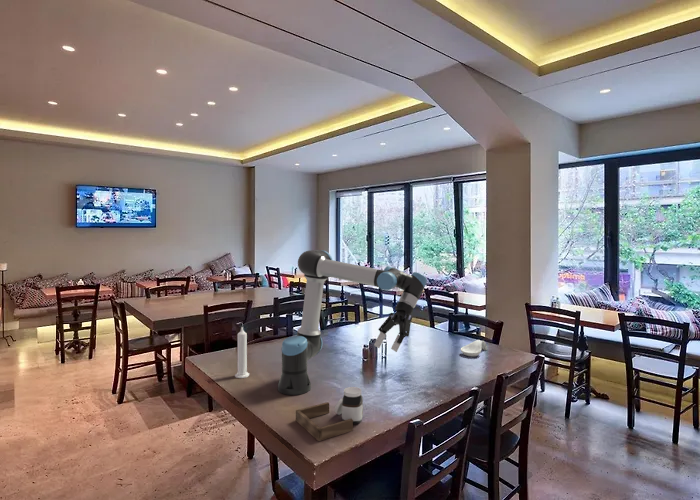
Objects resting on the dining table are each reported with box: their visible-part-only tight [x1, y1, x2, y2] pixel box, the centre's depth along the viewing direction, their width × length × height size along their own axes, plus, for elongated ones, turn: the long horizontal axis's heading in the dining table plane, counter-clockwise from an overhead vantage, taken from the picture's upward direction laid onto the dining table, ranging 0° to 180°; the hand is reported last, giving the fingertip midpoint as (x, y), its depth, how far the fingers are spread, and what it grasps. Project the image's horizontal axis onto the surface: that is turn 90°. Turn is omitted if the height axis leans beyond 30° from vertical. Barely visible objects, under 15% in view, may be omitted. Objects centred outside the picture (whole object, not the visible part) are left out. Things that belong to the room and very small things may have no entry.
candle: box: [234, 326, 250, 379], centre depth 200 cm, size 7×7×25 cm
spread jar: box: [334, 386, 364, 425], centre depth 154 cm, size 12×11×12 cm
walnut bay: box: [295, 401, 354, 442], centre depth 148 cm, size 18×14×4 cm
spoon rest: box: [460, 339, 488, 358], centre depth 242 cm, size 24×12×7 cm, turn 137°
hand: (384, 348), depth 166 cm, fingers open, 13 cm apart
